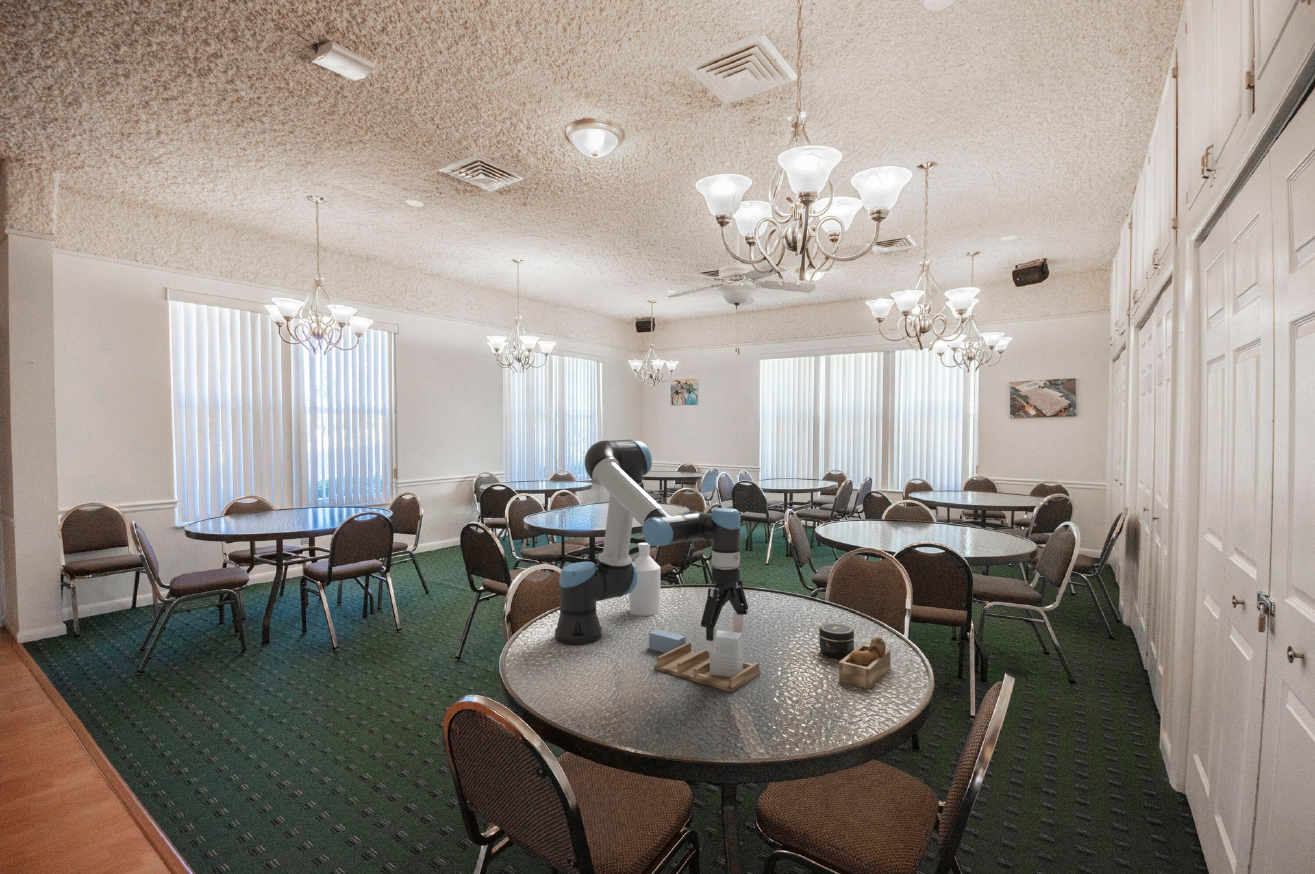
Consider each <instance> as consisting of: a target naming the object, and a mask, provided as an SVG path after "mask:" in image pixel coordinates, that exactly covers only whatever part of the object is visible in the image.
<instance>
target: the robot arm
mask: <svg viewBox="0 0 1315 874" xmlns="http://www.w3.org/2000/svg"><path fill="white" fill-rule="evenodd" d="M652 465H653V459H652V454H651V451H650V449H649V447H648V446H647V445H646V444H645V442H644V441H641V440H635V439H619V440H616V439H615V440H600V441H597V442H596V443H595V442H594V443H593V444H592V445H591V446H590V447H589V448H588V450H587V452H586V453H585V456H584V468H585V471H586V472H585V473H586V474H587V475H588V477H589V479H591V481H593V482H594V484H596V485H598V486H602V487H603V488H604V489H605V490H606V491H607V492H608V493H609V497H608V498H609V500H608V508H607V517H606V524H605V534H604V540H603V541H604V542H603V543H604V544H603V551H602V552H601V553H600V554H599V555H598V556H597V562H596V563H597V564H595V562H594V561H593V562H592V561H580V562H573V563H570V564H567V565H566V566H564V567H563V568H562V569H561V570H560V574H559V582H558V584H559V617H558V621H557V625H556V628H555V630H554V640H555V641H556V643H557V642H558V643H560V644H564V645H571V646H575V645H576V646H579V645H589V644H592V643H594V642H597V641H599V640H600V639H601V638H602V636H603V630H602V626H601V624H600V620H599V617H598V614H597V602H601V601H604V600H605V601H606V600H610V599H613V598H620V597H623V596H625V595H629V593H630V592H631V591H632V590H633V589H634V588H635V586H636V583H637V571H636V566H635V564H634V563H633V562H634V561H633V558H632V557H631V556H630V554H629V552H630V545H631V537H632V529H633V521H634V519H635V521H636V522H638V523H639V524H640V525H641V526H642V527H641V528H642V530H641V531H642V537H644V541H645V543H648V544H649V545H650V547H651V546H652V547H657V546H660V547H663V546H667V545H673V544H678V543H684V542H691V541H695V540H697V541H698V540H701V541H707V542H711V565H712V567H711V580H712V581H713V582H714V583H715V586H714V588H710V587H709V588H708V589H707V597H706V602H705V606H704V610H703V612H702V613H703V614H702V617H701V621H700V627H702V628H705V640H706V642H705V643H706V646H705V648H706V651H707V652H711V653H714V654H715V653H717V629H718V627H716V625H717V622H718V620H719V617H720V615H721V612H722V609H723V607H724V606H726V603H727V602H729V603H730V604H731V607H732V608H733V610H734V611H735V612H734V613H733V629H732V632H739V633H742V640H743V639H744V615H745V616H746V615H747V614H748V609H749V606H748V602H747V598H746V594H745V592H744V591H745V590H744V588H743V586H744V585H743V579H741V576H740V575H741V569H740V567H739V566H740V561H741V556H740V555H741V553H740V550H741V547H740V546H741V545H740V544H741V515H740V512H739V510H738V509H737V508H731V507H717V508H714V509H712V512H711V513H707V512H704V511H700V510H686V511H684V512H683V513H681V514H674V515H673V514H672V515H671V513H669V512H668V511H666V510H665V508H664V507H662V505H660V504H659V503H658V502H657V501H656V500H655V498H653V497H651V495H650V494H649V493H647V492H646V490H644V489H643V488H642V487H641V486H640V485H642V483H643V476H645V475H647V474H649V472H650V471H651V469H652Z"/></svg>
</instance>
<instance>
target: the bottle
mask: <svg viewBox="0 0 1315 874" xmlns="http://www.w3.org/2000/svg"><path fill="white" fill-rule="evenodd" d="M637 547H638V556H637V557H636V559H635V560H634V561H632V562H633V563H634V564H635V566H636V571H637V583H636V586H635V588H634V589H633V590H632V591H631V592H630V593H629V594H628V596H629V613H630V614H632V615H636V616H643V617H644V616H654V615H657V614H659V613H660V612H661V566H660V565H659V564H658V563H657V562H656V561H655V560H654V559H653V558H652V556H651V555H650V554H651V553H650V552H651V551H650V548H651V545H649V544H648V543H647V542H639V543H637Z"/></svg>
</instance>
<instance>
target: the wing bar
mask: <svg viewBox="0 0 1315 874" xmlns="http://www.w3.org/2000/svg"><path fill="white" fill-rule="evenodd" d="M686 643H687V636H684V635H681V634H678V633H673V632H670V631H665V630H661V629H654V630H652V631H650V632H648V649H650V650H653V651H656V652H657V651H658V652H660V653H663V654H665V653H667V652H669V651H671V650H673V649H675V648H677V647H679V646H681V645H683V644H686Z"/></svg>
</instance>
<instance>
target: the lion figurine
mask: <svg viewBox="0 0 1315 874" xmlns="http://www.w3.org/2000/svg"><path fill="white" fill-rule="evenodd" d="M869 646H870V648H869V649H868V650H866V651H853V652H851V653H850V656H849V659H848V663H851V664H854V663H855V665H860V666H863V665H865V666H867V667H868V666H869V665H870V664H871V663H872V662H873V661H874V660H875V659H877V658H878V657H883V656H884V655H885V651H886V649H887V648H886V641H885V640H884V639H883V638H882V637H879V636H875V637H873V638H871V639H870V645H869ZM883 658H884V657H883ZM862 664H863V665H862Z"/></svg>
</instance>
